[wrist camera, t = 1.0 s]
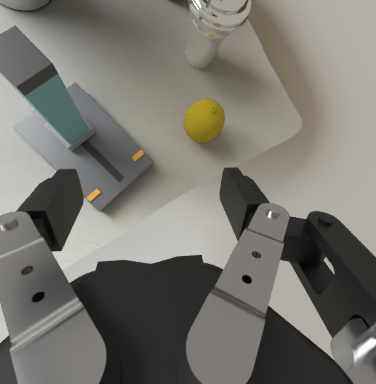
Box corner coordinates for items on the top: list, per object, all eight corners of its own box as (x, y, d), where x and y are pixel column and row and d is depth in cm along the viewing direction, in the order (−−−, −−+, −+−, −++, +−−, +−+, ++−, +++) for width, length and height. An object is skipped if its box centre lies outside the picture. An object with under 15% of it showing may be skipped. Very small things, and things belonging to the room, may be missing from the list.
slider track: (20, 133, 29) (10, 126, 27) (79, 90, 31) (75, 81, 29) (101, 211, 30) (98, 211, 28) (152, 164, 33) (153, 160, 30)
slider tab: (48, 129, 28) (-33, 49, 14) (73, 110, 29) (18, 19, 15) (71, 151, 28) (12, 93, 15) (95, 132, 29) (60, 61, 16)
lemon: (207, 113, 36) (227, 85, 28) (216, 145, 35) (238, 125, 28) (176, 118, 34) (187, 90, 27) (184, 151, 34) (198, 132, 26)
